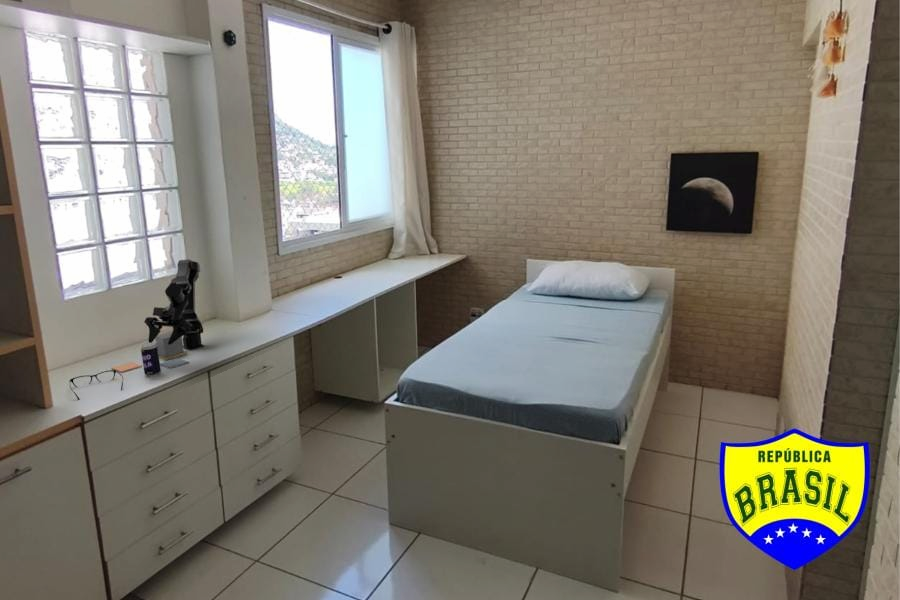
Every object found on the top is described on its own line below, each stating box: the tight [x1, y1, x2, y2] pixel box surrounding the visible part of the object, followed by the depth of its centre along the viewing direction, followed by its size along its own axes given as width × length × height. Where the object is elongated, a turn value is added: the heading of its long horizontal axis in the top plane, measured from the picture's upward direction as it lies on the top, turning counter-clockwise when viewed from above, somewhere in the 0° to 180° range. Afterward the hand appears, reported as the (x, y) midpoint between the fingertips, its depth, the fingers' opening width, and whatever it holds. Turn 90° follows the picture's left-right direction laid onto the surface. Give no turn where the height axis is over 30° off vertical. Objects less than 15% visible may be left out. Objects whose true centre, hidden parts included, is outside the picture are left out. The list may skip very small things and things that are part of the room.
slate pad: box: [160, 357, 190, 369], centre depth 243 cm, size 8×8×1 cm
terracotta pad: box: [111, 361, 143, 374], centre depth 239 cm, size 8×8×1 cm
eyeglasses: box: [68, 369, 124, 401], centre depth 218 cm, size 16×16×4 cm
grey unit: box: [154, 331, 188, 361], centre depth 252 cm, size 10×8×9 cm
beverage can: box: [140, 342, 162, 377], centre depth 230 cm, size 6×6×12 cm
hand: (159, 343), depth 234 cm, fingers open, 9 cm apart
